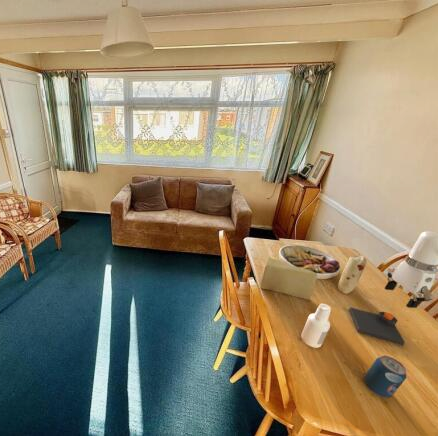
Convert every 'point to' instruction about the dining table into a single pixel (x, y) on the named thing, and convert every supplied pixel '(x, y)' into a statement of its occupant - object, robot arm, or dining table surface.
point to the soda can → (385, 376)
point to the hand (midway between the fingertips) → (399, 297)
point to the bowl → (310, 260)
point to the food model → (351, 274)
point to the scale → (376, 326)
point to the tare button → (388, 316)
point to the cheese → (288, 279)
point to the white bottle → (317, 326)
